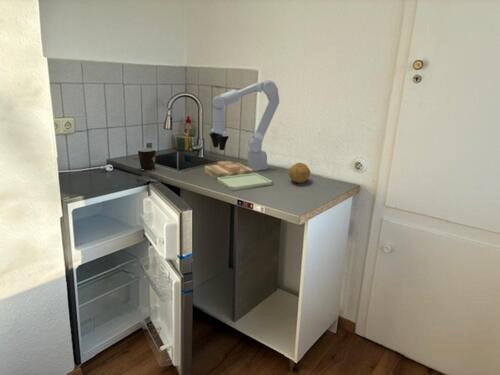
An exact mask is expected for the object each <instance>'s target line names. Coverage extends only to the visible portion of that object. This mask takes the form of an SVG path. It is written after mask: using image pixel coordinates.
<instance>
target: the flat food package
mask: <svg viewBox="0 0 500 375" xmlns="http://www.w3.org/2000/svg"><path fill="white" fill-rule="evenodd" d="M233 163H234V164H237V165H239V166H241V171H233V172H228V171H226V170H224V168H221V167H219V166H218V164H211V165H204V173H206V174H207V175H209V176H210V177H212V178H213V179H215V180H217V178H218V177H226V176H234V175H242V174H250V173H254V171H253V170H252V169H250V168H248V166H247V165H243V164H241V163H240V162H233Z"/></svg>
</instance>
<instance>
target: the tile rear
mask: <svg viewBox="0 0 500 375" xmlns="http://www.w3.org/2000/svg"><path fill="white" fill-rule="evenodd" d="M234 163H235V162H233V161H230V160H223V161H222V160H221V161H217V165H218V166H219V167H221V168H224V165H227V164H234Z"/></svg>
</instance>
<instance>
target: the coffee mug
mask: <svg viewBox="0 0 500 375" xmlns="http://www.w3.org/2000/svg"><path fill="white" fill-rule="evenodd" d="M156 150H157V148H154V147H141V148H138V149H137V154H138V159H139V164H140V169H144V170H152V169H154V170H155V169H156V168H155V166H156V165H155V164H156V152H157V151H156ZM152 171H153V170H152Z"/></svg>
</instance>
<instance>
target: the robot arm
mask: <svg viewBox="0 0 500 375" xmlns="http://www.w3.org/2000/svg"><path fill="white" fill-rule="evenodd" d="M256 92H257V93H264V94H265V95H266V97H267V100H268V103H267V106H266V107H265V109H264V112H263V114H262V116H261V118H260V120H259V123H258V125H257V127H256V130H255V132H254V134H253V136H251V138H249V140H248V142H247V143H248V150H247V167H248V168H250V169H252V170H253V172H256V171H257V172H259V171H263V170H264V171H265V170H266V171H267V170H268V154H267V153H266V151H265V150H262V147H263V145H262V144H263V141H264V138H265V134H266V132H267V131H268V128H269V126H270V124H271V122H272V119H273V117H274V115H275V114H276V111H277V108H278V107H279V104H280V96H279V87H277V84H276V83H275V82H274V81H272V80H271V79H267V80H264V81H259V82H255V83H253V84H251V85H248V86H246V87H243V88H242V89H239V90H237V89H235V88H234V89H232V88H230V89H228V91H227V92H224V93H219V95H216V96H214V97H213V99H212V101H211V103H212V128H210V133H209V137H210V139H211V142H212V145H213V148H219V151H224V150H225V148H226V145H227V142H228V140H229V135H227V134H228V133H227V132H226V129H225V127H226V126H225V108H224V107H225V106H229V105H231V104H233V103H236V102H238V101H240V98H241V97H244V96H247V95H250V94H252V93H256Z"/></svg>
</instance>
